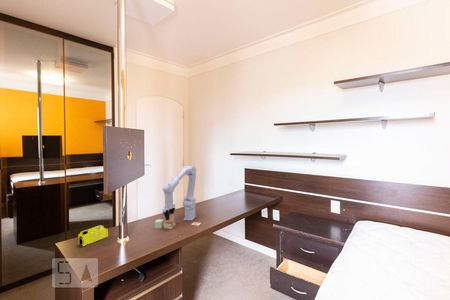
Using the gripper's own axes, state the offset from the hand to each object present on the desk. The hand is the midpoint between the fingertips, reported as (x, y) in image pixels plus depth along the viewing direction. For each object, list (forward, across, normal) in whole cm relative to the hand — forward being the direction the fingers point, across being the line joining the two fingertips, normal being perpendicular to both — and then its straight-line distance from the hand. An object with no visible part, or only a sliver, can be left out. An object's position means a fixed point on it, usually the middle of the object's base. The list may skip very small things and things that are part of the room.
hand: (169, 218), depth 165 cm
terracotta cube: (+2, 0, 0) cm, 2 cm away
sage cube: (+6, +2, -8) cm, 10 cm away
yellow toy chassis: (+7, +34, -36) cm, 50 cm away
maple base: (+6, 0, 0) cm, 6 cm away
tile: (+6, -10, +18) cm, 21 cm away
